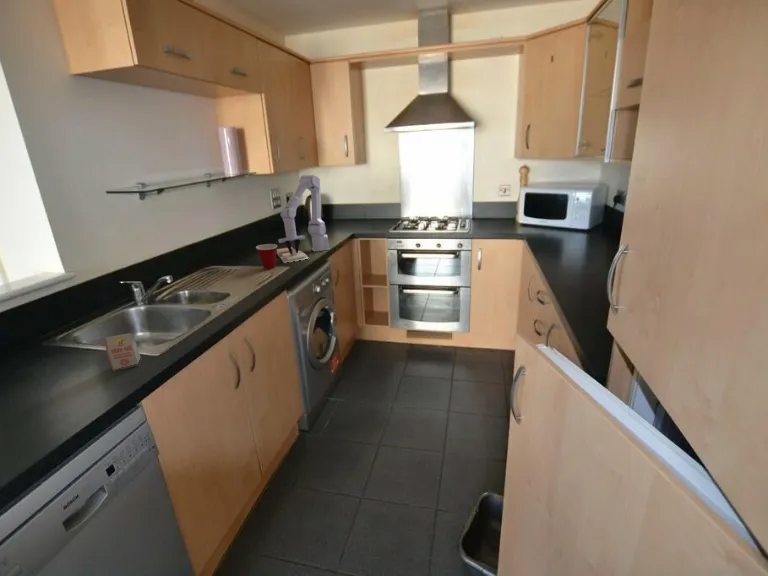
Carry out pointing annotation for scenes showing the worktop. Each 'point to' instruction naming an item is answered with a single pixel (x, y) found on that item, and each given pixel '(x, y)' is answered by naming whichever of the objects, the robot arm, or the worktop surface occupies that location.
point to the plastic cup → (267, 255)
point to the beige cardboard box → (122, 351)
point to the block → (282, 251)
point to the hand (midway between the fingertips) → (294, 253)
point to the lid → (294, 255)
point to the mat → (293, 259)
